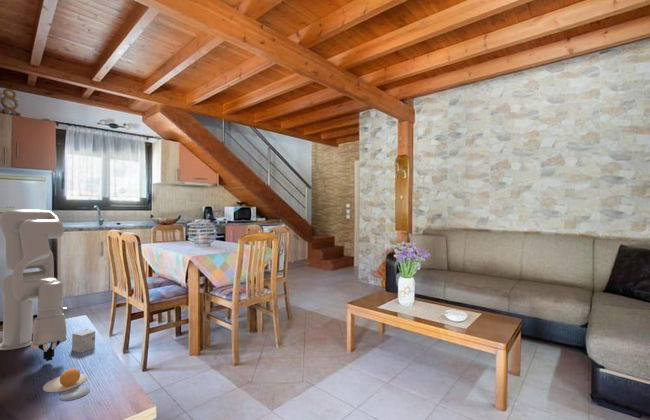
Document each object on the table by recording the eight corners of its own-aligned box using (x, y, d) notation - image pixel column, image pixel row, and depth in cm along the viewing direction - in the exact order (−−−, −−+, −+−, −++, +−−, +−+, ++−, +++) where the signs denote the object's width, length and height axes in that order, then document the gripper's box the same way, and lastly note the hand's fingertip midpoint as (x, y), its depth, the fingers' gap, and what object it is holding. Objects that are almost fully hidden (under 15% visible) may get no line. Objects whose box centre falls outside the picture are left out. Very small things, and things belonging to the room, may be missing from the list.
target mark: (38, 383, 112) (38, 383, 112) (80, 370, 121) (80, 370, 121) (48, 396, 105) (48, 395, 105) (91, 381, 114) (91, 381, 114)
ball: (63, 380, 107) (60, 393, 108) (83, 374, 111) (80, 386, 113) (59, 368, 110) (56, 380, 111) (78, 362, 114) (75, 374, 116)
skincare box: (80, 353, 136) (81, 335, 136) (71, 350, 138) (71, 333, 138) (95, 347, 142) (95, 330, 142) (86, 345, 144) (86, 328, 144)
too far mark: (56, 394, 106) (56, 393, 106) (85, 384, 112) (85, 383, 112) (63, 403, 101) (63, 403, 101) (93, 392, 107) (93, 392, 107)
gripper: (70, 307, 135) (69, 350, 135) (22, 315, 123) (20, 363, 123) (76, 310, 130) (74, 356, 130) (26, 320, 118) (25, 369, 118)
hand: (48, 359), depth 126 cm, fingers closed
